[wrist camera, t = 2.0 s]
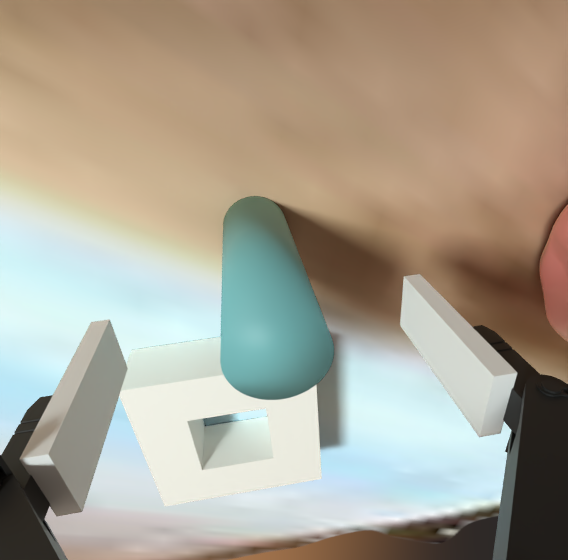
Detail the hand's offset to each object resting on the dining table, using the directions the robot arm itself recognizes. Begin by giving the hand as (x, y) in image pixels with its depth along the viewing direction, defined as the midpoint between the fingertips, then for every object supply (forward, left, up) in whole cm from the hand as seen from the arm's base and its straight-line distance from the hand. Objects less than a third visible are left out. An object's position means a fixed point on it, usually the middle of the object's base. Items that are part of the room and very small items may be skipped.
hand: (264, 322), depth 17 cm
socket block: (+4, +16, -11) cm, 20 cm away
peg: (0, 0, -11) cm, 11 cm away
